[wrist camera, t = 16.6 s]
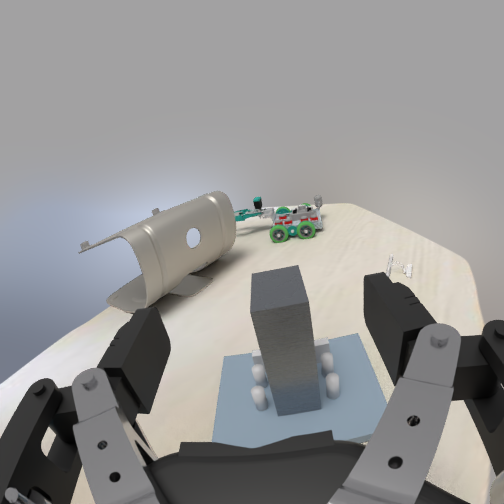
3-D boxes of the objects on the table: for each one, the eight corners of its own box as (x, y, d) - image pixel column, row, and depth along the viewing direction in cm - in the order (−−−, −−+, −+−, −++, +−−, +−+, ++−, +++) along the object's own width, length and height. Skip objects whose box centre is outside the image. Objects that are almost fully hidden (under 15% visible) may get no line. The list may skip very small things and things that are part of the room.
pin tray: (214, 461, 22) (200, 441, 21) (226, 363, 35) (218, 340, 34) (393, 433, 20) (399, 410, 19) (357, 340, 33) (357, 316, 32)
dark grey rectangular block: (278, 416, 25) (250, 312, 20) (275, 373, 30) (251, 273, 26) (321, 409, 24) (308, 301, 20) (312, 366, 30) (298, 265, 26)
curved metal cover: (159, 328, 46) (124, 237, 40) (97, 302, 59) (70, 237, 54) (248, 259, 64) (231, 188, 59) (176, 254, 78) (159, 197, 72)
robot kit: (238, 227, 89) (231, 197, 86) (323, 214, 84) (318, 182, 80) (222, 252, 72) (213, 215, 69) (328, 237, 67) (323, 197, 63)
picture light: (390, 255, 52) (389, 245, 51) (412, 256, 50) (412, 246, 49) (381, 296, 41) (381, 284, 40) (409, 298, 39) (410, 285, 38)
